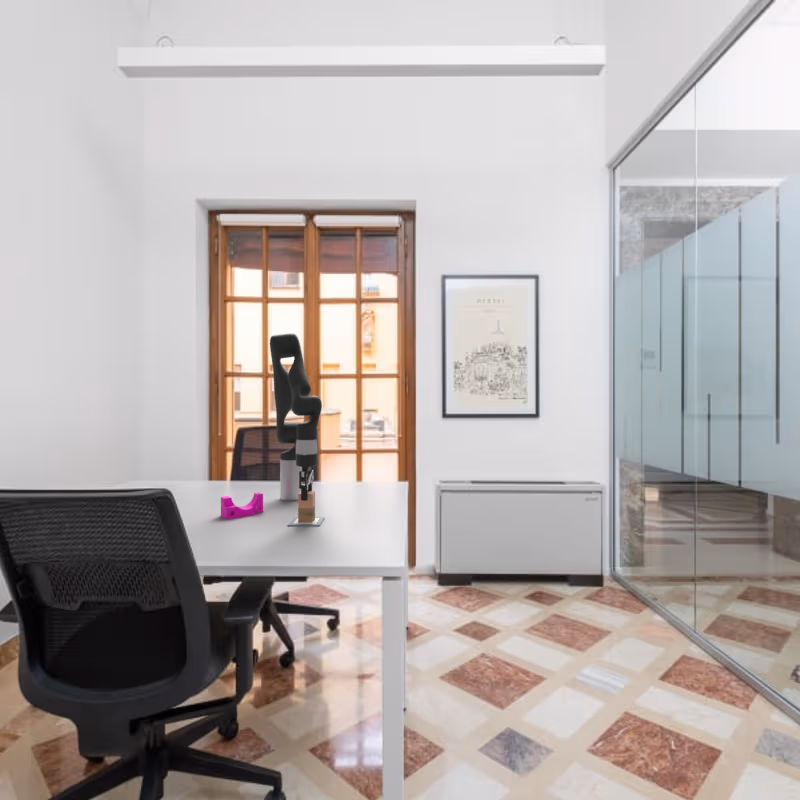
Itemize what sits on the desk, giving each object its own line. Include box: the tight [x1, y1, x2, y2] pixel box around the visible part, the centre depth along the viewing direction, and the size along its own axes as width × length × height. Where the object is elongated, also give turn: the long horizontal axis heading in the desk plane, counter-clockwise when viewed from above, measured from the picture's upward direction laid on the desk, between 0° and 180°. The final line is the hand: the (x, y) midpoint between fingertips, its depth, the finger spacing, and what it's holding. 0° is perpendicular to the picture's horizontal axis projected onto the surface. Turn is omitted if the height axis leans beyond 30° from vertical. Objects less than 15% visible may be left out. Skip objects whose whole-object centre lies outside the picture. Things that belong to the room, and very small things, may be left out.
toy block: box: [220, 492, 264, 520], centre depth 200 cm, size 15×6×8 cm, turn 127°
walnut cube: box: [297, 505, 316, 523], centre depth 188 cm, size 5×5×5 cm
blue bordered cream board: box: [287, 516, 326, 527], centre depth 188 cm, size 11×11×1 cm
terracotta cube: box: [297, 490, 316, 509], centre depth 188 cm, size 5×5×5 cm
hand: (306, 497), depth 188 cm, fingers open, 8 cm apart
